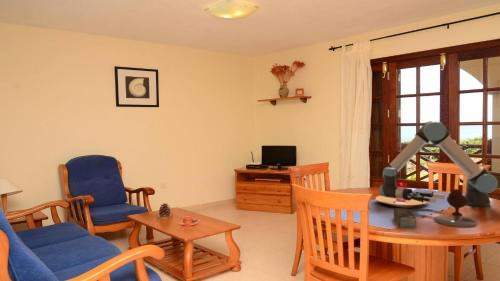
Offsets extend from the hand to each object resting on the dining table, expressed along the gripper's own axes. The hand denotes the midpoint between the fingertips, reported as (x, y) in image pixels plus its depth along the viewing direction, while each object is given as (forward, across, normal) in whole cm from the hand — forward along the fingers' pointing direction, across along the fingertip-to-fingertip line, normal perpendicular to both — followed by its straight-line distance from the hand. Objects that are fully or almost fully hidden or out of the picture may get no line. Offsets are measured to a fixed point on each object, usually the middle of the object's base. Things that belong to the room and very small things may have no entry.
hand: (440, 198), depth 216 cm
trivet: (+13, +17, -8) cm, 23 cm away
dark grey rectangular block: (-4, +38, -8) cm, 40 cm away
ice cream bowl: (+9, 0, -8) cm, 12 cm away
